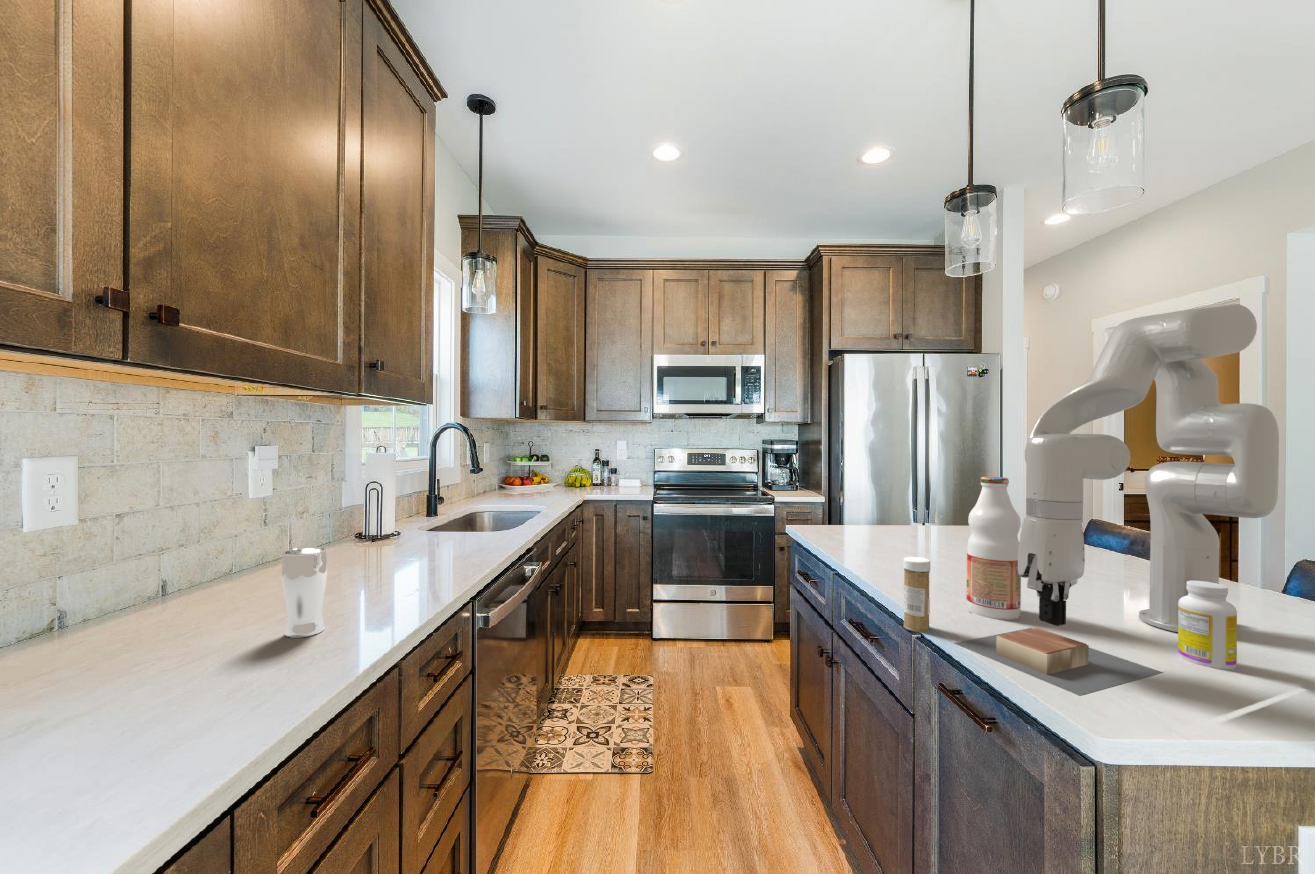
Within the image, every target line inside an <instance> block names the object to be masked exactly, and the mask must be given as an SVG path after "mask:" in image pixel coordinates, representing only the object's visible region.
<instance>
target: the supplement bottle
mask: <svg viewBox="0 0 1315 874" xmlns="http://www.w3.org/2000/svg"><path fill="white" fill-rule="evenodd" d="M1186 589H1188V590H1187V591H1188V592H1189V593H1188V596H1184V597H1182V598H1180V599H1179V602H1178V632H1177V639H1178V640H1177V642H1178V643H1177V645H1178V646H1177V651H1178V656H1179V658H1180V659H1182V660H1184V661H1186V662H1189V663H1192V664H1195V665H1197V666H1202V667H1206V668H1211V669H1217V670H1225V671H1226V670H1235V669H1236V668H1237V664H1238V663H1237V662H1238V660H1237V659H1238V656H1237V655H1238V654H1237V653H1238V652H1237V650H1238V648H1237V644H1238V629H1237V628H1238V610H1237V608H1236V607H1235V605H1234V604H1233V603H1231V602H1229V601H1227V597H1228V595H1229V588H1228V586H1226V585H1224V584H1222V583H1221V584H1220V583H1219V584H1217V583H1211V582H1205V581H1187V587H1186Z"/></svg>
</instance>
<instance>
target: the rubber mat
mask: <svg viewBox="0 0 1315 874" xmlns="http://www.w3.org/2000/svg"><path fill="white" fill-rule="evenodd" d="M1033 628H1034V627H1033ZM1033 628H1032V627H1028V628H1023V629H1018V630H1015V631H1008V632H1004V633H999V634H998V633H997V634H993V635H987V636H982V637H977V638H972V639H967V640H963V641H957V642H953V644H954V645H957V646H959V647H962V648H964V649H966V650H968V651H971V652H974V653H976V654H978V655H980V656H983V657H986V658H988V659H991V660H993V661H995V662H998V663H1000V664H1003V665H1005V666H1007V667H1010V668H1012V669H1014V670H1016V671H1019V672H1022V673H1024V674H1026V675H1029V676H1032V677H1034V678H1035V679H1038V680H1041V681H1043V682H1046V683H1048V684H1050V685H1053V686H1055V687H1057V688H1059V689H1060V688H1061V689H1062V690H1065V691H1067V692H1070V693H1072V694H1075V695H1077V696H1079V697H1081V696H1085V695H1087V694H1088V695H1089V694H1091V693H1095V692H1099V691H1102V690H1106V689H1107V690H1108V689H1110V688H1113V687H1117V686H1120V685H1125V684H1127V683H1132V682H1135V681H1139V680H1142V679H1146V678H1149V677H1153V676H1156V675H1160V674H1163V673H1164V671H1160V670H1158V669H1154V668H1151V667H1148V666H1145V665H1142V664H1140V663H1136V662H1133V661H1131V660H1128V659H1124V658H1121V657H1119V656H1116V655H1113V654H1109V653H1107V652H1104V651H1101V650H1098V649H1095V648H1092V647H1089V655H1088V665H1084V666H1080V667H1076V668H1071V669H1067V670H1063V671H1059V672H1055V673H1051V674H1047V675H1046V674H1044V673H1041V672H1039V671H1036V670H1034V669H1031V668H1029V667H1027V666H1024V665H1022V664H1019V663H1017V662H1014V661H1012V660H1009V659H1007V658H1004V657H1002V656H999V655H997V654H996V638H997V636H999V635H1002V634H1007V633H1013V632H1018V631H1023V630H1028V629H1033Z"/></svg>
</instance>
